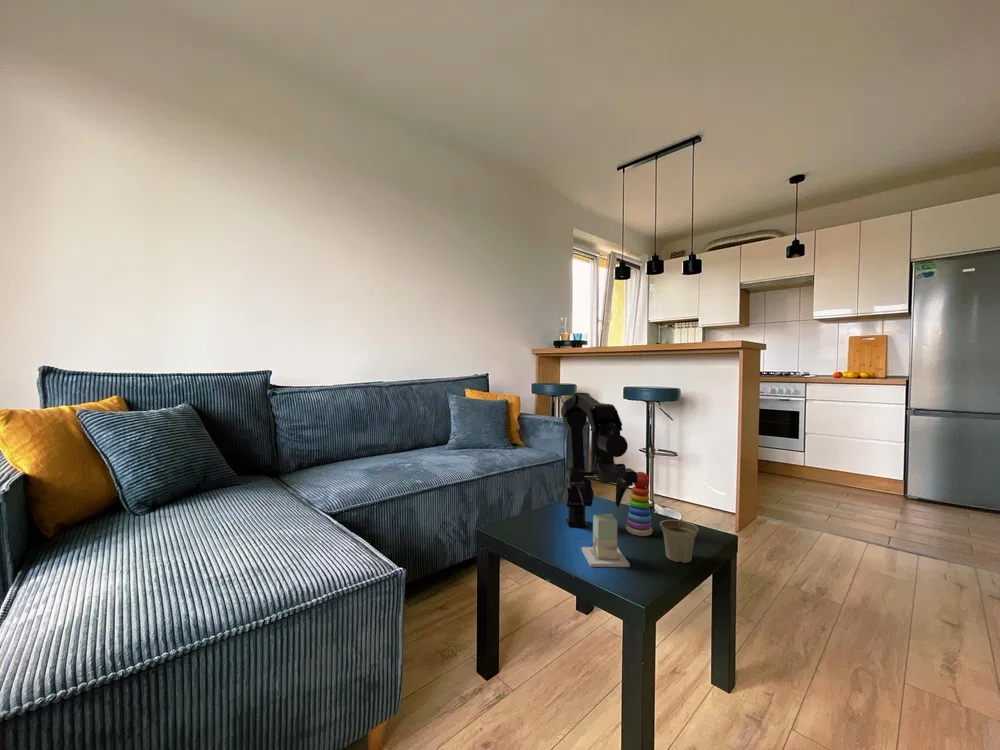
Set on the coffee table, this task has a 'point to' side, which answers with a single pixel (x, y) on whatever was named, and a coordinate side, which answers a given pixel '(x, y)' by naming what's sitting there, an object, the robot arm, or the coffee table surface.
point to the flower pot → (679, 539)
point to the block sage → (604, 527)
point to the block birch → (604, 548)
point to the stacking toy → (640, 508)
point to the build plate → (596, 562)
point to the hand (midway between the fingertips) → (600, 506)
